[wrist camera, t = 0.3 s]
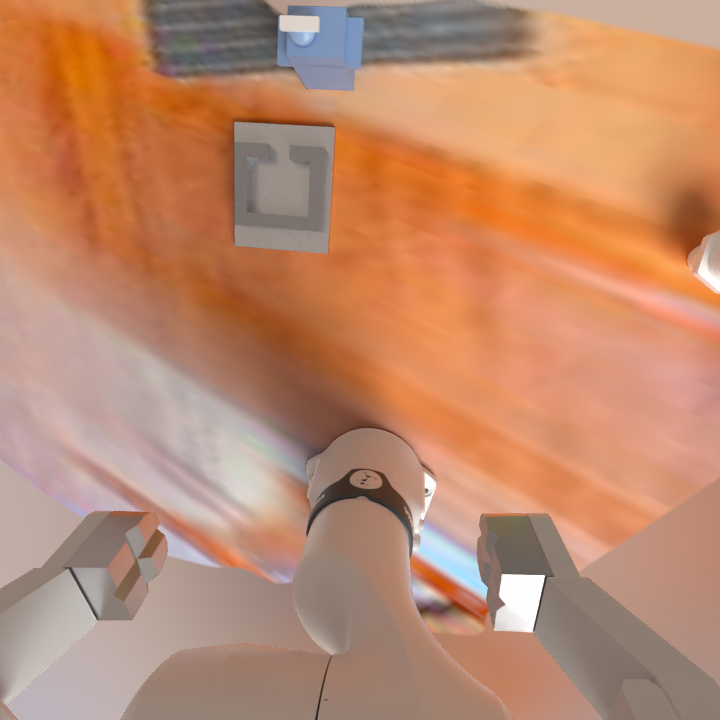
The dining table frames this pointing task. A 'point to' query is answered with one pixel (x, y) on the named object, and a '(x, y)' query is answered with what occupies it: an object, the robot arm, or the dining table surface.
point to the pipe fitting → (707, 261)
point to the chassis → (283, 186)
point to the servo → (321, 46)
